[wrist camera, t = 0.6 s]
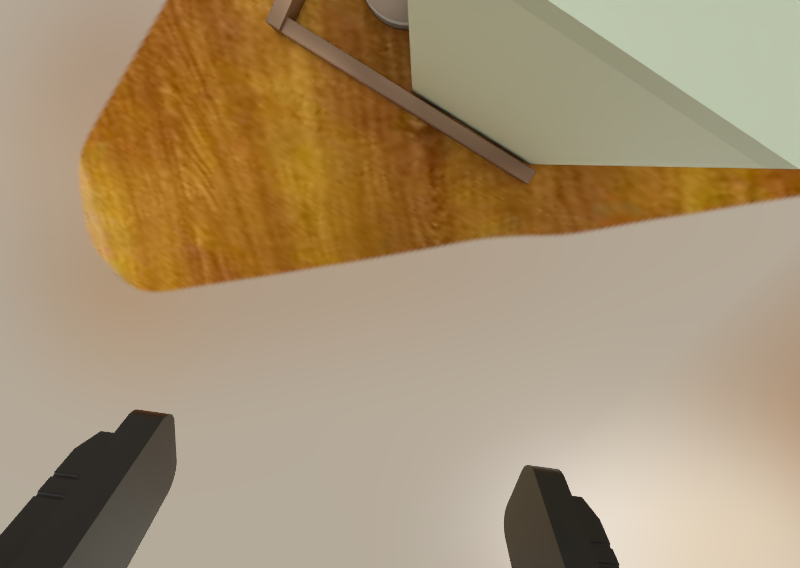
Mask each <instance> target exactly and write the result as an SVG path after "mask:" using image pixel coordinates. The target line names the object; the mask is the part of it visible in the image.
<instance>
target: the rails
mask: <svg viewBox="0 0 800 568" xmlns="http://www.w3.org/2000/svg"><path fill="white" fill-rule="evenodd" d="M303 2H304V0H275V1H274V3H273V5H272V8H271V10H270V12H269V15H268V17H267V19H266V22H267V23H268V24H269V25H270V26H271V27H272V28H273V29H274V30H276V31H278V32H279V33H281V34H282V35H284V36H286V37H287V38H289V39H291V40H292V41H294V42H295V43H297V44H299V45H300V46H302V47H304V48H305V49H307V50H308V51H310V52H312V53H313V54H315V55H317V56H318V57H320V58H321V59H323V60H325V61H326V62H328V63H329V64H331V65H333V66H334V67H336V68H338V69H339V70H341V71H342V72H344V73H346V74H347V75H349V76H351V77H352V78H354V79H355V80H357V81H359V82H360V83H362V84H364V85H365V86H367V87H368V88H370V89H372V90H373V91H375V92H377V93H378V94H380V95H381V96H383V97H385V98H386V99H388V100H390V101H391V102H393V103H394V104H396V105H398V106H399V107H401V108H403V109H404V110H406V111H407V112H409V113H411V114H412V115H414V116H416V117H417V118H419V119H420V120H422V121H424V122H425V123H427V124H429V125H430V126H432V127H433V128H435V129H437V130H438V131H440V132H442V133H443V134H445V135H446V136H448V137H450V138H451V139H453V140H455V141H456V142H458V143H459V144H461V145H463V146H464V147H466V148H468V149H469V150H471V151H472V152H474V153H476V154H477V155H479V156H481V157H482V158H484V159H485V160H487V161H489V162H490V163H492V164H494V165H495V166H497V167H498V168H500V169H502V170H503V171H505V172H507V173H508V174H510V175H511V176H513V177H515V178H516V179H518V180H520V181H521V182H523V183H526V184H529V182H530V180H531V179H532V177H533V176H534V174H535V173H536V171H535V170H533V169H531V168H530V167H528V166H527V165H525V164H523V163H522V162H520V161H519V160H517V159H515V158H514V157H512V156H510V155H509V154H507V153H506V152H504V151H502V150H501V149H499V148H498V147H496V146H494V145H493V144H491V143H490V142H488V141H486V140H485V139H483V138H482V137H480V136H478V135H477V134H475V133H473V132H472V131H470V130H469V129H467V128H465V127H464V126H462V125H461V124H459V123H457V122H456V121H454V120H453V119H451V118H449V117H448V116H446V115H444V114H443V113H441V112H440V111H438V110H436V109H435V108H433V107H432V106H430V105H428V104H427V103H425V102H424V101H422V100H420V99H419V98H417V97H415V96H414V95H412V94H411V93H409V92H407V91H406V90H404V89H403V88H401V87H399V86H398V85H396V84H395V83H393V82H391V81H390V80H388V79H387V78H385V77H383V76H382V75H380V74H378V73H377V72H375V71H374V70H372V69H370V68H369V67H367V66H366V65H364V64H362V63H361V62H359V61H358V60H356V59H354V58H353V57H351V56H349V55H348V54H346V53H345V52H343V51H341V50H340V49H338V48H337V47H335V46H333V45H332V44H330V43H329V42H327V41H325V40H324V39H322V38H321V37H319V36H317V35H316V34H314V33H312V32H311V31H309V30H308V29H306V28H304V27H303V26H301V25H300V24H298V23H296V22H295V20H296V18H297V16H298V13H299V11H300V9H301V7H302V5H303Z"/></svg>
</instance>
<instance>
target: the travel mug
mask: <svg viewBox="0 0 800 568" xmlns="http://www.w3.org/2000/svg"><path fill="white" fill-rule="evenodd" d="M366 3H367V4H368V6H369V8H370V10H371V11H372V12H373V13H374V15H375V16H376V17H377V18H378V19H380V20H381V21H382V22H383V23H385V24H387V25H389V26H391V27H394V28H398V29H408V30H409V19H408V0H366Z"/></svg>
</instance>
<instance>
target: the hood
mask: <svg viewBox="0 0 800 568" xmlns="http://www.w3.org/2000/svg"><path fill="white" fill-rule="evenodd" d="M408 19H409V38H410V57H411V76H412V92H414V93H415V94H417V95H418V96H420V97H422V98H423V99H425V100H427V101H428V102H430V103H431V104H433V105H435V106H436V107H438V108H439V109H441V110H443V111H444V112H446V113H447V114H449V115H451V116H452V117H454V118H455V119H457V120H459V121H460V122H462V123H464V124H465V125H467V126H468V127H470V128H472V129H473V130H475V131H476V132H478V133H480V134H481V135H483V136H484V137H486V138H488V139H489V140H491V141H492V142H494V143H496V144H497V145H499V146H500V147H502V148H504V149H505V150H507V151H509V152H510V153H512V154H513V155H515V156H517V157H518V158H520V159H521V160H523V161H525V162H526V163H528V164H552V165H606V166H660V167H714V168H768V169H800V0H408Z"/></svg>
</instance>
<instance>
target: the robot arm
mask: <svg viewBox="0 0 800 568" xmlns="http://www.w3.org/2000/svg"><path fill="white" fill-rule="evenodd" d="M175 445H176V444H175V426H174V417H173V415H171V414H165V413H158V412H150V411H143V410H134V411H132V412H131V413H130V414H129V415H128V416H127V417H126V419H125V420H124V421H123V423H122V424H121V425H120V427H119V428H118V429H117V430H116V431H115V433H110V432H102V431H101V432H99V433H98V434H96V435H94V436H93V437H92V438H90V439H88V440H87V441H85V442H84V443H82V444H81V445H79V446H78V447H76V448H75V449H74V450H73V451H72V452H71V453H70V455H69V456H68V457H67V458H66V459H65V460H64V462H63V463H62V464H61V465H60V466H59V467H58V468H57V470H56V471H55V473H54V475H53V477H50V478H49V479H48V480H47V481H46V482H45V484H44V485H43V486H42V487H41V488H40V490H39V491H38V494H37V495H36V496H33V498H32V499H31V500H30V501H29V502H28V503H27V505H26V506H25V507H24V508H23V509H22V511H21V512H20V513H19V514H18V515H17V516H16V517H15V519H14V520H13V521H12V522H11V523H10V524H9V526H8V527H7V528H6V529H5V530H4V532H3V533H2V534H1V535H0V568H127V567H128V565H129V563H130V561H131V559H132V557H133V556H134V554H135V552H136V550H137V548H138V546H139V545H140V543H141V541H142V539H143V537H144V536H145V534H146V532H147V530H148V528H149V527H150V525H151V523H152V521H153V519H154V517H155V516H156V514H157V512H158V510H159V508H160V506H161V505H162V503H163V501H164V499H165V497H166V496H167V494H168V491H169V490H170V487H171V485H172V482H173V479H174V475H175V471H176V446H175ZM504 532H505V538H506V543H507V548H508V552H509V557H510V561H511V566H512V568H619V563H618V561H617V558H616V556H615V554H614V552H613V549H611V548H610V543H609V540H608V538H607V535H606V533H605V531H604V528H603V526H602V524H601V522H600V519H599V518H598V517H597V516H596V514H595V513H594V512H593V511H592V509H591V508H590V507H589V506H588V504H587V503H586V502H585V501H584V499H583V498H582V497H577V496H572V495H571V492H570V490H569V487H568V485H567V482H566V480H565V477H564V475H563V474H562V472H561V471H560V470H558V469H552V468H545V467H538V466H530V465H527V466H525V467H524V468H523V470H522V472H521V474H520V476H519V479H518V481H517V483H516V486H515V488H514V490H513V493H512V495H511V497H510V500H509V502H508V504H507V507H506V510H505V517H504Z"/></svg>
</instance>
